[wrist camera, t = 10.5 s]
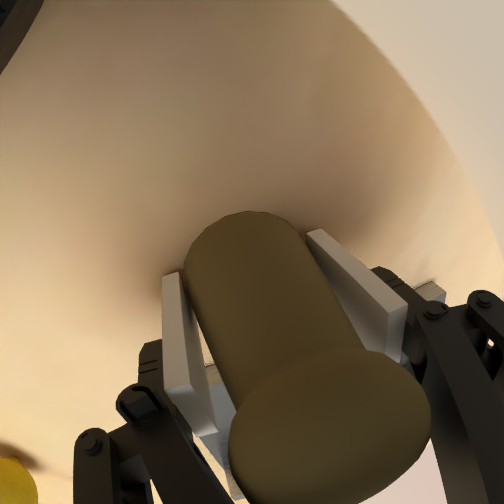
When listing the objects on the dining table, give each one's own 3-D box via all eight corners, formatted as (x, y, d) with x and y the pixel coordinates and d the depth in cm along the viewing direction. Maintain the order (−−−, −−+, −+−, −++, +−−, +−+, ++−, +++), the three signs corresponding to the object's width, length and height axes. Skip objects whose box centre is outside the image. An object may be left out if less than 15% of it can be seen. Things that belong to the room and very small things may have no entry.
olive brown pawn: (212, 341, 16) (270, 548, 6) (160, 244, 13) (169, 514, 4) (318, 296, 16) (444, 466, 7) (290, 190, 14) (498, 357, 4)
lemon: (44, 477, 19) (40, 544, 12) (-4, 459, 17) (-15, 523, 10) (38, 453, 17) (29, 532, 10) (-17, 433, 15) (-34, 506, 8)
